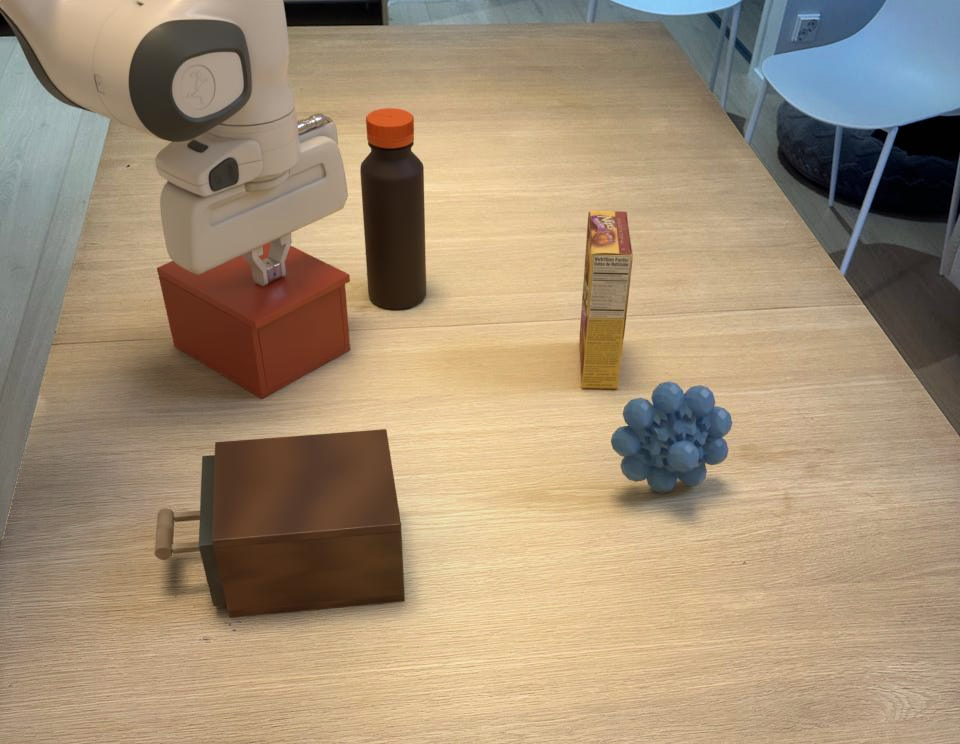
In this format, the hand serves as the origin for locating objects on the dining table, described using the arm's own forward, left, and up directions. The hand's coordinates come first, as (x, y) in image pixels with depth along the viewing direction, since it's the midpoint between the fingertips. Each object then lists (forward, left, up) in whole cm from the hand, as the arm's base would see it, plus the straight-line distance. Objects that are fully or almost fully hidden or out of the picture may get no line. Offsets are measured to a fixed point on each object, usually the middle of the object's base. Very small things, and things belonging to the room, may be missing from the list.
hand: (270, 279), depth 107 cm
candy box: (+26, +22, -9) cm, 35 cm away
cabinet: (+26, -19, -9) cm, 33 cm away
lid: (-3, 0, -1) cm, 3 cm away
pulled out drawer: (+23, -22, -8) cm, 33 cm away
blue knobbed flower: (+44, +9, -9) cm, 46 cm away
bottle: (0, +18, -9) cm, 20 cm away
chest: (-3, 0, -9) cm, 10 cm away
